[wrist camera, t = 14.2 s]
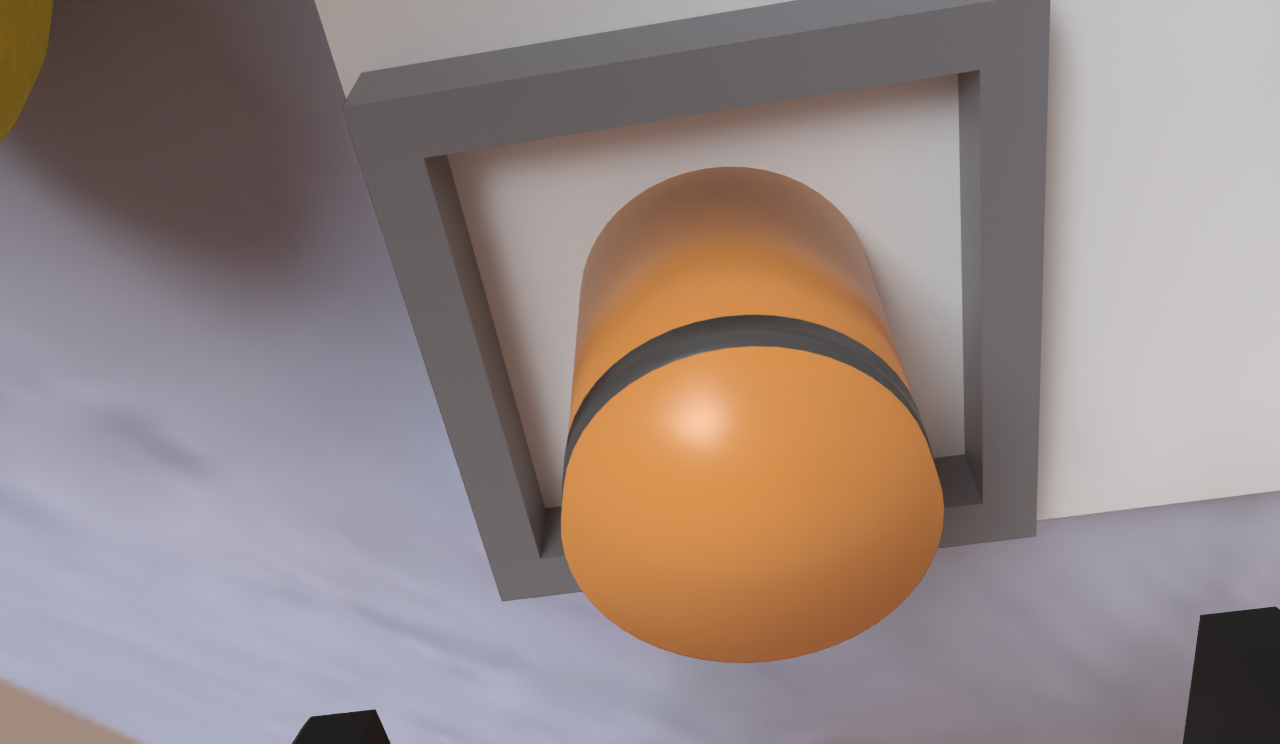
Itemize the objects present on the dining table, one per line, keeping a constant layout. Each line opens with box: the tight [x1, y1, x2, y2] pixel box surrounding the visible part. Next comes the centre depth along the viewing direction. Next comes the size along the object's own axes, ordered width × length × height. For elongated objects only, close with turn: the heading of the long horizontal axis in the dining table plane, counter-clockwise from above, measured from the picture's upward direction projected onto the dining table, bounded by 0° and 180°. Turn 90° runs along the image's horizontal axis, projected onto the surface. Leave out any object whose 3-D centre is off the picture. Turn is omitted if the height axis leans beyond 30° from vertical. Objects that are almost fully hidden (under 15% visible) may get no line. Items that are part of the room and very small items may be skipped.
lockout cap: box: [561, 166, 944, 663], centre depth 15 cm, size 4×4×5 cm
